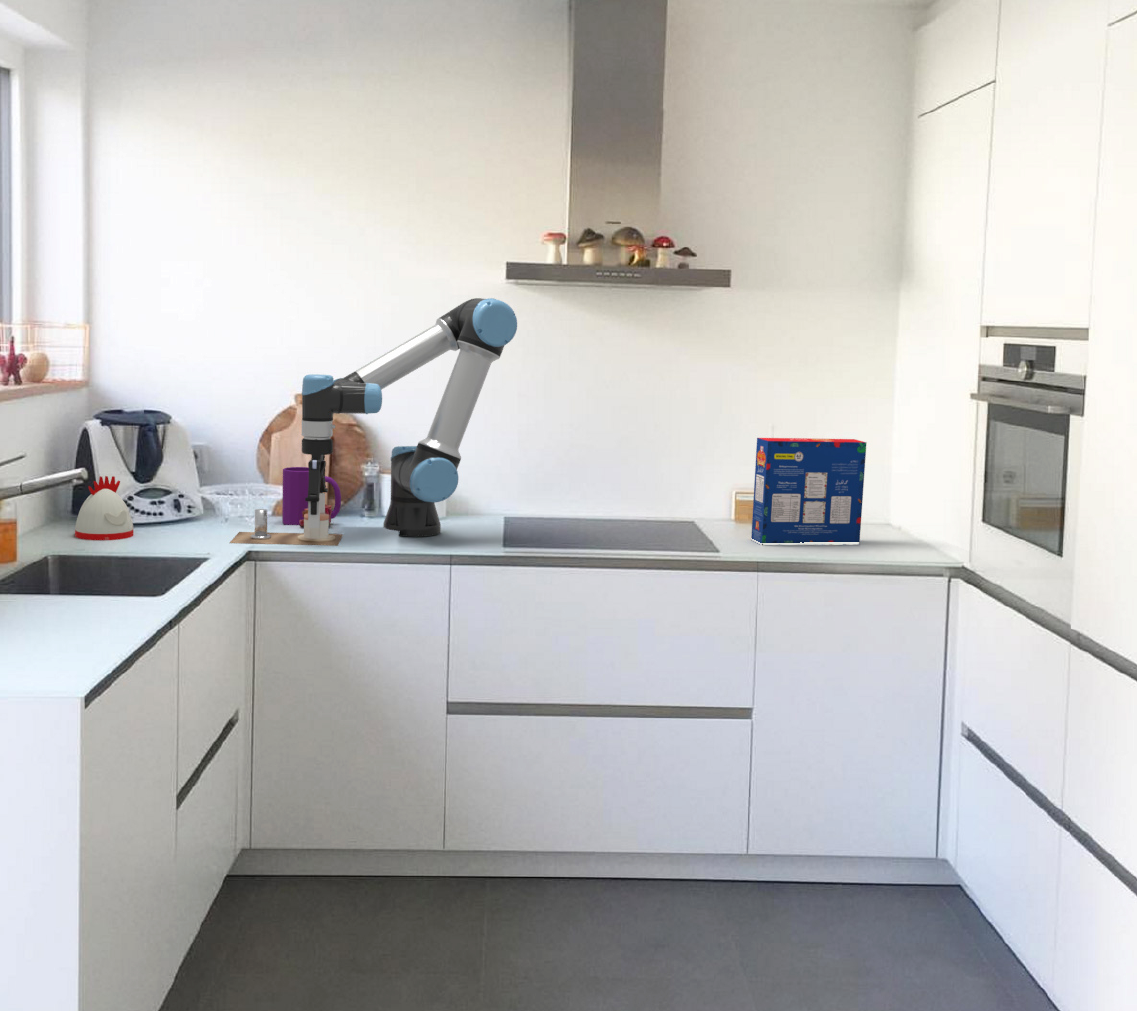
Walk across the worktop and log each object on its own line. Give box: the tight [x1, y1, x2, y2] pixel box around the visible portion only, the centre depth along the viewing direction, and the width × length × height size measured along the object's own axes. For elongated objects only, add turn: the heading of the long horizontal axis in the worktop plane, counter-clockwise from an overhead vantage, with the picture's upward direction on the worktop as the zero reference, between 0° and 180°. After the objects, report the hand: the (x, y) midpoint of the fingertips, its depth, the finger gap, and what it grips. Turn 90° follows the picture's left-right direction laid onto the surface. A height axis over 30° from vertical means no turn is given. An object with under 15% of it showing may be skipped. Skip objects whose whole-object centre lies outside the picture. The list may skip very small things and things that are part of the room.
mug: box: [281, 466, 342, 526], centre depth 376 cm, size 9×16×15 cm, turn 97°
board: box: [229, 531, 344, 547], centre depth 347 cm, size 26×16×2 cm, turn 95°
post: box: [251, 508, 271, 540], centre depth 345 cm, size 5×5×7 cm
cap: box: [303, 513, 330, 539], centre depth 347 cm, size 6×6×6 cm
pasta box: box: [750, 437, 867, 543], centre depth 376 cm, size 28×8×28 cm, turn 103°
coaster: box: [298, 534, 335, 542], centre depth 347 cm, size 9×9×1 cm
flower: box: [298, 503, 333, 528], centre depth 365 cm, size 10×9×8 cm
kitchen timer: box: [74, 475, 134, 541], centre depth 349 cm, size 14×14×15 cm
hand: (316, 523), depth 346 cm, fingers open, 13 cm apart
